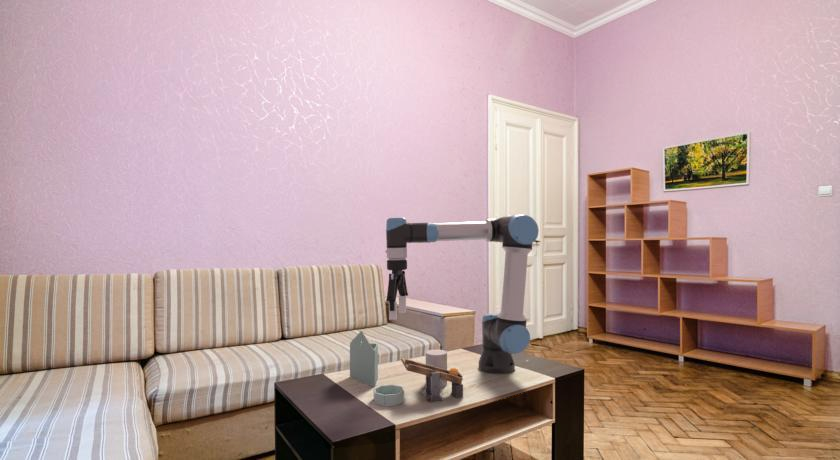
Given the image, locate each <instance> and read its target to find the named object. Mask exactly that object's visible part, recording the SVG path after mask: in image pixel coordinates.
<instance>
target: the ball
mask: <svg viewBox="0 0 840 460" xmlns="http://www.w3.org/2000/svg"><path fill="white" fill-rule="evenodd" d="M448 370H449V374H450V375H454V376H458V375H459V373H460V371H459V370H458V368H457V367H451V368H450V369H448Z"/></svg>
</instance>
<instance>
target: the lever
mask: <svg viewBox="0 0 840 460" xmlns="http://www.w3.org/2000/svg"><path fill="white" fill-rule="evenodd" d="M400 362H401V363H402V364H403V366H404V368H405V369H406V371H408V372H412V373H416V374H420V375H423V376H425V377H426V376H430V377H431V372H439V373H440V379H442V380H445V381H447V382H449V383H452V382H453V383H457V384H461V383H462V381H463V379H464V378H463V375H462V373H461V372H459V375H458V376H454V375H450V374H449V370H450V369H447V370H445V369H441V368H438V367H434V366H430V365H426V363H422V362H418V361H415V360H412V359H408V358H405V357H400ZM462 384H463V383H462Z"/></svg>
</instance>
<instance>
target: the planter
mask: <svg viewBox="0 0 840 460" xmlns="http://www.w3.org/2000/svg"><path fill="white" fill-rule="evenodd" d="M378 347H379V344H378V343H371V342H369V340H368V338H367V337H366V335H365V334H364V332H363V330H360V331H359V333H358V334H356V336H355V337H354V338H353V339H351V341H350V343H349V378H352V379H353V380H355V379H356V380H355V381H358V382H359V383H363V384H365V385H367V386H369V387H371V388H376V385H377V382H378V379H379V356H378V355H379V352H378V351H379V349H378Z"/></svg>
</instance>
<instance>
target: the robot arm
mask: <svg viewBox="0 0 840 460" xmlns="http://www.w3.org/2000/svg"><path fill="white" fill-rule="evenodd" d="M385 236H386V238H385V239H386V250H385V251H384V252H385V254H386V258H387V260H386V269H387V270H388V271H391V273H388V286H387V291H386V292H387V295H386V299H385V302H387V303H388V321H397V320H398V315H397V314H398V313H399V314H406V313H407V296H409V293H408V288H407V282H406V281H407V280H406V271H405V270H408V261H407V258H408V249H407V246H408V244H411V243H414V244H415V243H416V244H418V243H419V244H421V243H422V244H423V243H425V244H426V243H428V244H429V243H436V242H449V241H451V242H453V241H456V242H457V241H478V240H481V241H482V240H483V241H484V240H485V241H486V242H488V243H489V242H490V243H491V242H495V243H501V244H502V247H501V248H502V249H503V250H504V252H505V255H504V256H505V257H504V268H503V269H504V270H503V284H502V295H501V306H500V307H501V308H500V309H501V310H500V312H498V313H486V314H483V316H482V318H481V319H482V320H481V326H482V327H481V328H482V329H481V332H482V337H481V338H482V340H481V341H482V349H481V352H480V353H481V354H480V356H479V360H478V369H479V370H480V371H482V372H485V373H490V374H509V373H513V372H514V371H515V368H516V365H515V361H514V358H513V355H517V354H518V355H519V354H521V353H523V352H525V350H526V349H527V348H528V347H529V345H530V343H531V342H530V341H531V333H530V332H529V331H530V330H529V329H528V328H527V318H526V317H525V315H524V308H525V307H524V305H525V293H526V281H527V268H528V267H527V266H528V254H529V253H530V252H532V251H533V243H534V242H535V241H536V240H537V239H538V236H539V226H538V223H537V221H536V220H535V219H534V218H533V217H532V216H530V215H527V214H522V213H521V214H520V213H519V214H513V215H512V214H511V215H504V216H501V217H496V218H495V217H494V218H487V219H486V218H485V219H484V220H483V221H459V222H457V221H456V222H430V221H429V222H408V221H407V218H405V217H390V218H387V220H386V229H385ZM398 293H399V296H398V302H397V294H398ZM397 303H398V304H397ZM397 305H398V307H397ZM397 309H398V310H397ZM397 311H398V312H397Z"/></svg>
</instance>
